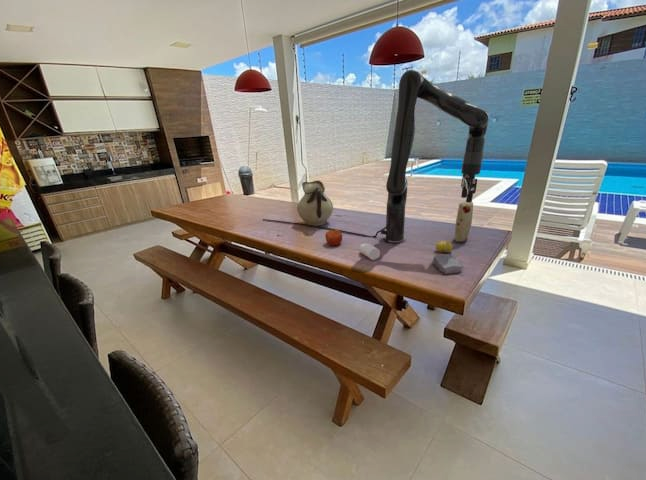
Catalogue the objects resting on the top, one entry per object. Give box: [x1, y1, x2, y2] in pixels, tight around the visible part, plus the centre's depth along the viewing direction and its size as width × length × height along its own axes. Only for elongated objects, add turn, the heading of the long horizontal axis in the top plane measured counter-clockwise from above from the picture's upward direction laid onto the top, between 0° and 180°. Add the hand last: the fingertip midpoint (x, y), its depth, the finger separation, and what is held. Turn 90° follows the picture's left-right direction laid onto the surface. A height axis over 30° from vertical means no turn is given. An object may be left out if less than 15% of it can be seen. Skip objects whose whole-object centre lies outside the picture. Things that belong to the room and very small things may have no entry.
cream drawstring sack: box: [296, 180, 334, 227], centre depth 188 cm, size 22×24×25 cm
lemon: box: [435, 240, 454, 253], centre depth 143 cm, size 8×5×5 cm
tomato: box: [324, 228, 343, 246], centre depth 159 cm, size 9×9×8 cm
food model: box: [454, 201, 474, 243], centre depth 151 cm, size 10×7×20 cm
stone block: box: [432, 253, 464, 275], centre depth 128 cm, size 12×5×10 cm
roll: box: [359, 243, 381, 261], centre depth 144 cm, size 6×12×6 cm, turn 22°
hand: (466, 199), depth 138 cm, fingers open, 8 cm apart
